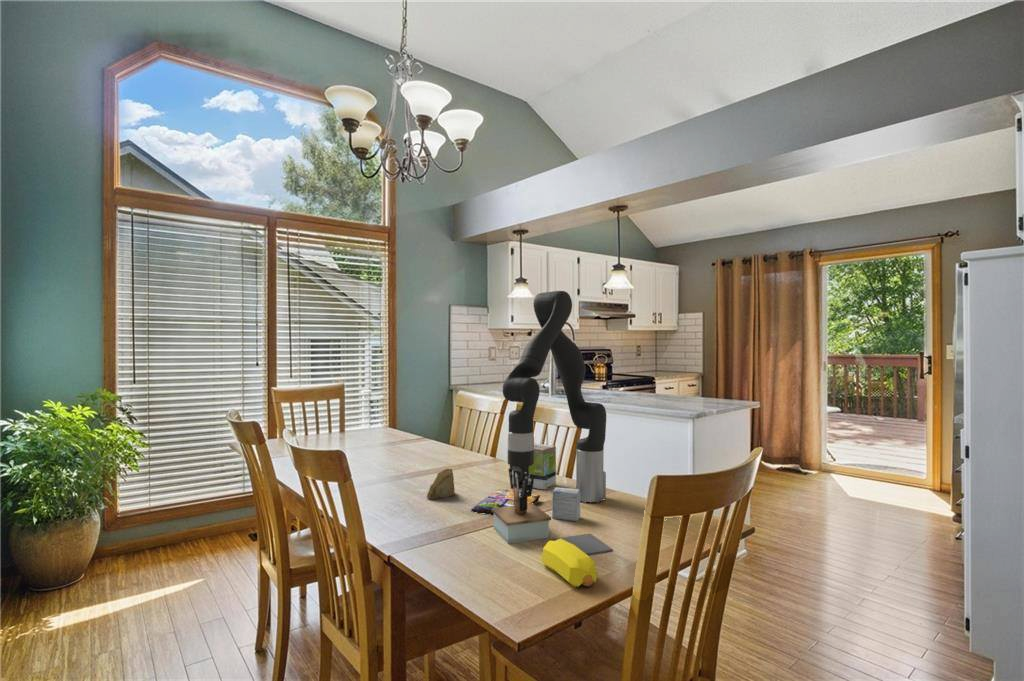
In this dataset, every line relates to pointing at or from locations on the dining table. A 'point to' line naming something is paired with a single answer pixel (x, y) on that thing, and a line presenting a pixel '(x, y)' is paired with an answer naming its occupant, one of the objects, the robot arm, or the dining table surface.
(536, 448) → the tea box
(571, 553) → the yellow faceted long part
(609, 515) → the dining table surface
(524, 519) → the lid
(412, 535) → the dining table surface
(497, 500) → the food package
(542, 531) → the dish
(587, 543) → the mat
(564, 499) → the medicine box
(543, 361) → the robot arm
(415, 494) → the dining table surface
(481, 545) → the dining table surface
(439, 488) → the rock
